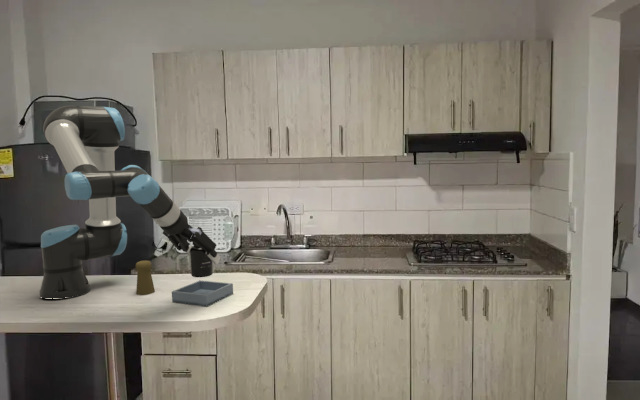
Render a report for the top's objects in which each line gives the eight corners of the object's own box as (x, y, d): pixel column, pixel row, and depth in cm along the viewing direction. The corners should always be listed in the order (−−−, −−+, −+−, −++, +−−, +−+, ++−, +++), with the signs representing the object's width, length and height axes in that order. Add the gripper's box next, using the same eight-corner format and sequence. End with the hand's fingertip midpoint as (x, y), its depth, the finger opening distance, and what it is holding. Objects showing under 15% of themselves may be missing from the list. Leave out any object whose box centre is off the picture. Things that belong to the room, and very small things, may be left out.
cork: (158, 291, 154) (155, 260, 153) (141, 296, 150) (138, 263, 149) (149, 288, 158) (147, 258, 157) (133, 293, 154) (130, 261, 153)
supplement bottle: (207, 278, 140) (205, 240, 139) (187, 277, 141) (184, 240, 140) (216, 272, 147) (214, 236, 146) (197, 272, 148) (195, 236, 147)
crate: (172, 302, 142) (171, 291, 142) (200, 290, 154) (199, 280, 154) (206, 306, 136) (206, 295, 136) (233, 293, 149) (232, 283, 148)
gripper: (138, 227, 133) (180, 268, 149) (191, 228, 125) (229, 272, 141) (150, 207, 137) (189, 249, 153) (202, 207, 129) (238, 252, 145)
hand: (208, 260), depth 147 cm, fingers closed on supplement bottle, 7 cm apart
